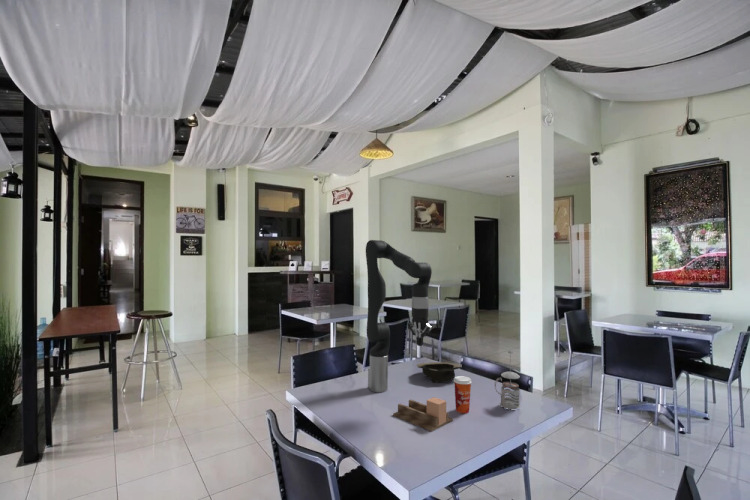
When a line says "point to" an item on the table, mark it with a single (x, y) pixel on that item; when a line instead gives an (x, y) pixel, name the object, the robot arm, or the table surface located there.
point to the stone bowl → (439, 371)
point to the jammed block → (437, 409)
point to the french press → (514, 400)
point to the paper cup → (462, 393)
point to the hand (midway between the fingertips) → (419, 345)
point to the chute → (419, 416)
